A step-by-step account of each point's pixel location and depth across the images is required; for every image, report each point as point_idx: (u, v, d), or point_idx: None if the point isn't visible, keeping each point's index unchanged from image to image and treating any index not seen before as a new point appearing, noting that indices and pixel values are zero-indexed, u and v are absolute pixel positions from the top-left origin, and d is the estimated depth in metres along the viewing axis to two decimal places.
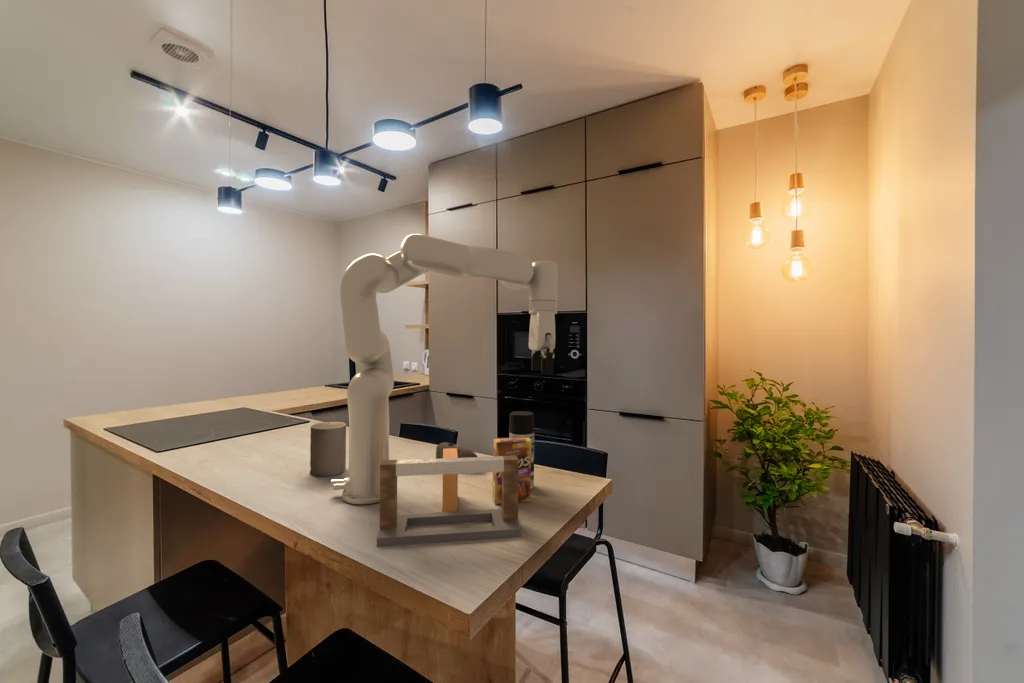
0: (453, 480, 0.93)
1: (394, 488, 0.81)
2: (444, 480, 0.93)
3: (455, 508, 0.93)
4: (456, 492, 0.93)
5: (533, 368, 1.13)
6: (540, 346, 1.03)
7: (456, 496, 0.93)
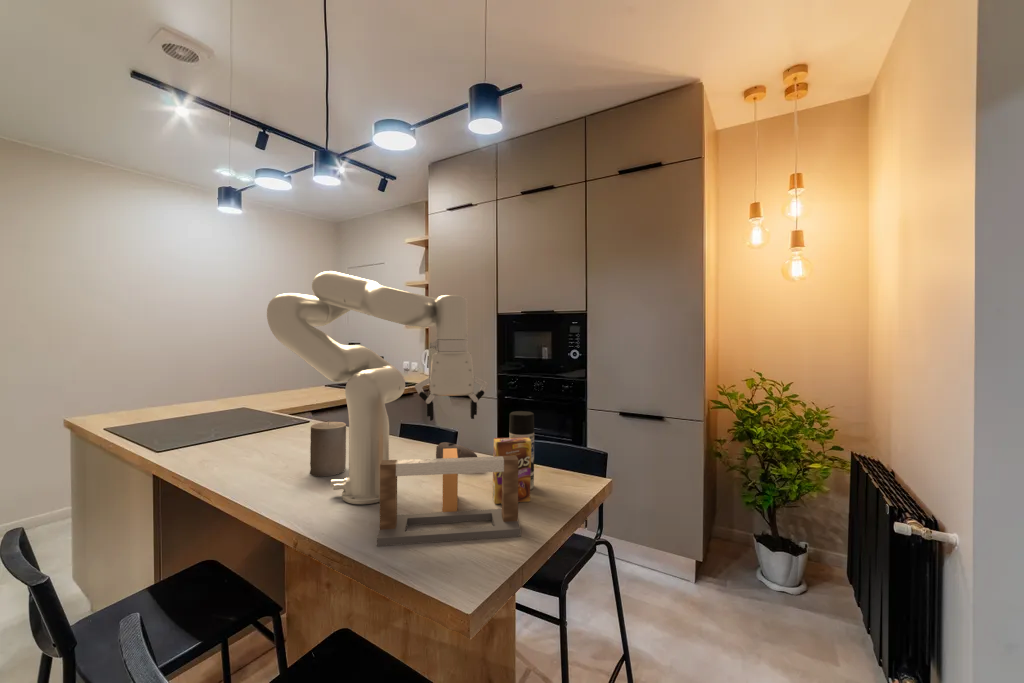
0: (453, 480, 0.93)
1: (394, 488, 0.81)
2: (444, 480, 0.93)
3: (455, 508, 0.93)
4: (456, 492, 0.93)
5: None
6: None
7: (456, 496, 0.93)
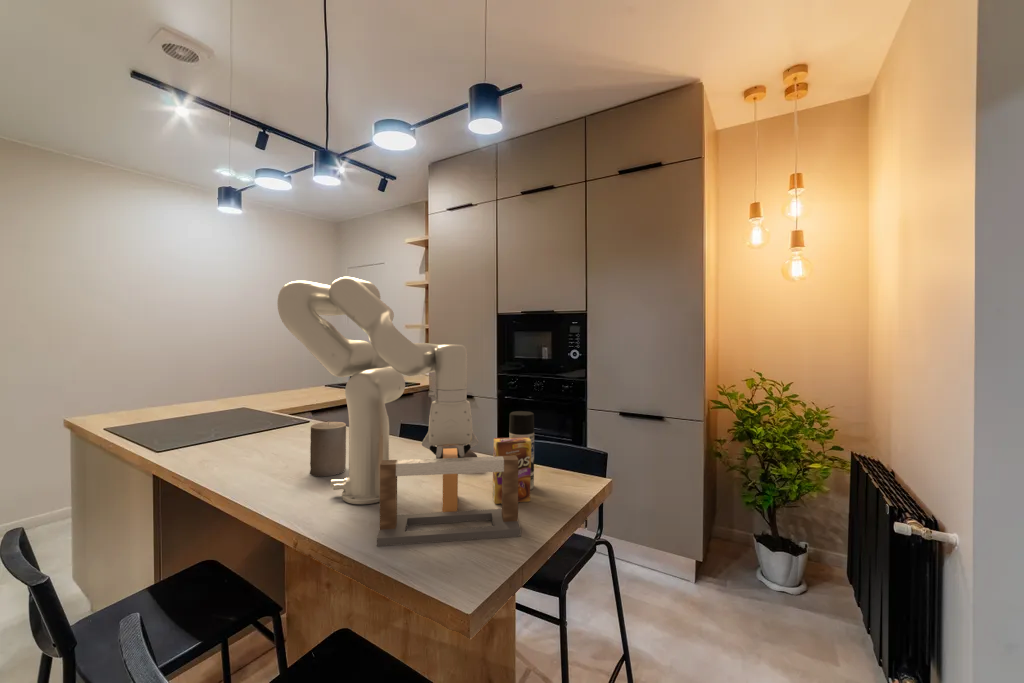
0: (453, 480, 0.93)
1: (394, 488, 0.81)
2: (444, 480, 0.93)
3: (455, 508, 0.93)
4: (456, 492, 0.93)
5: None
6: (471, 439, 0.96)
7: (456, 496, 0.93)
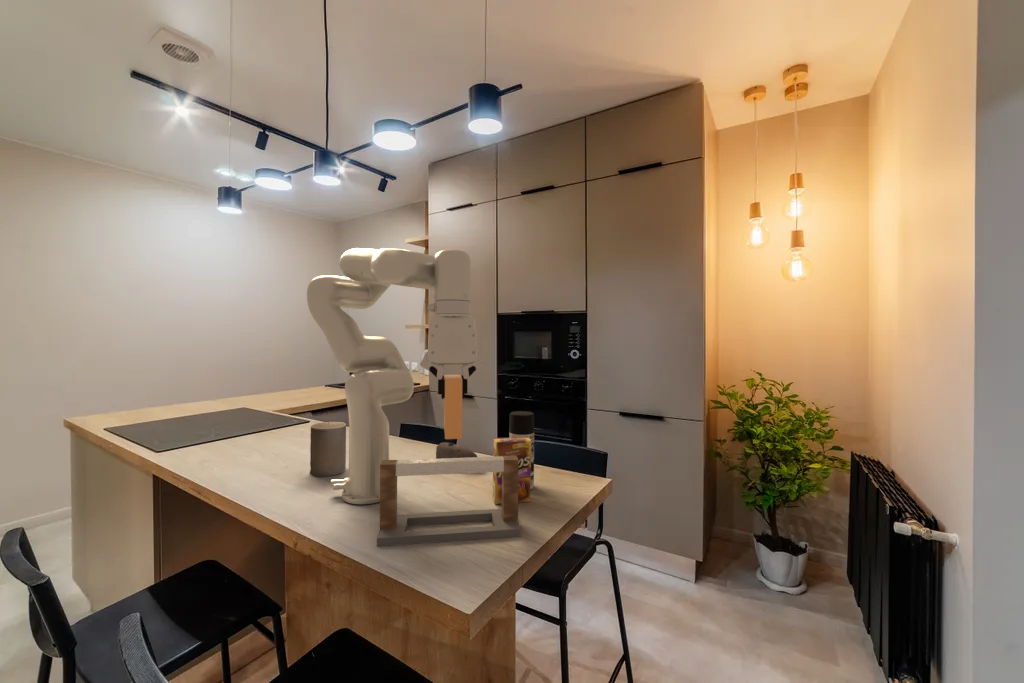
0: (457, 402, 0.81)
1: (394, 488, 0.81)
2: (447, 402, 0.81)
3: (460, 434, 0.81)
4: (461, 416, 0.81)
5: (444, 395, 0.84)
6: (477, 358, 0.84)
7: (461, 420, 0.81)
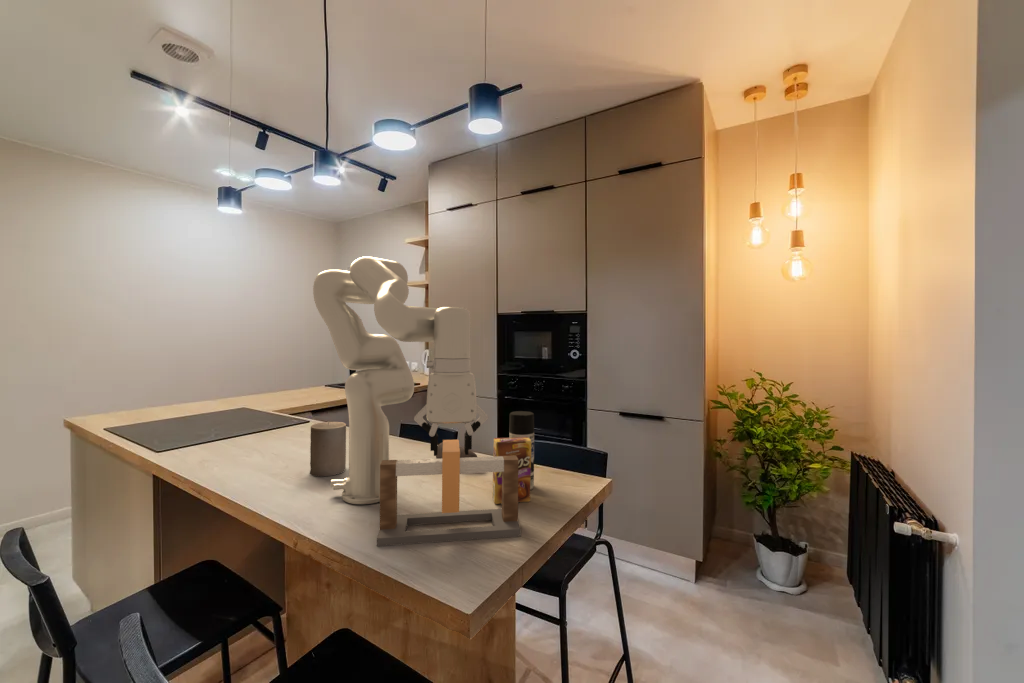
0: (455, 475, 0.80)
1: (394, 488, 0.81)
2: (444, 475, 0.80)
3: (457, 508, 0.80)
4: (458, 489, 0.80)
5: (437, 452, 0.83)
6: None
7: (458, 494, 0.80)
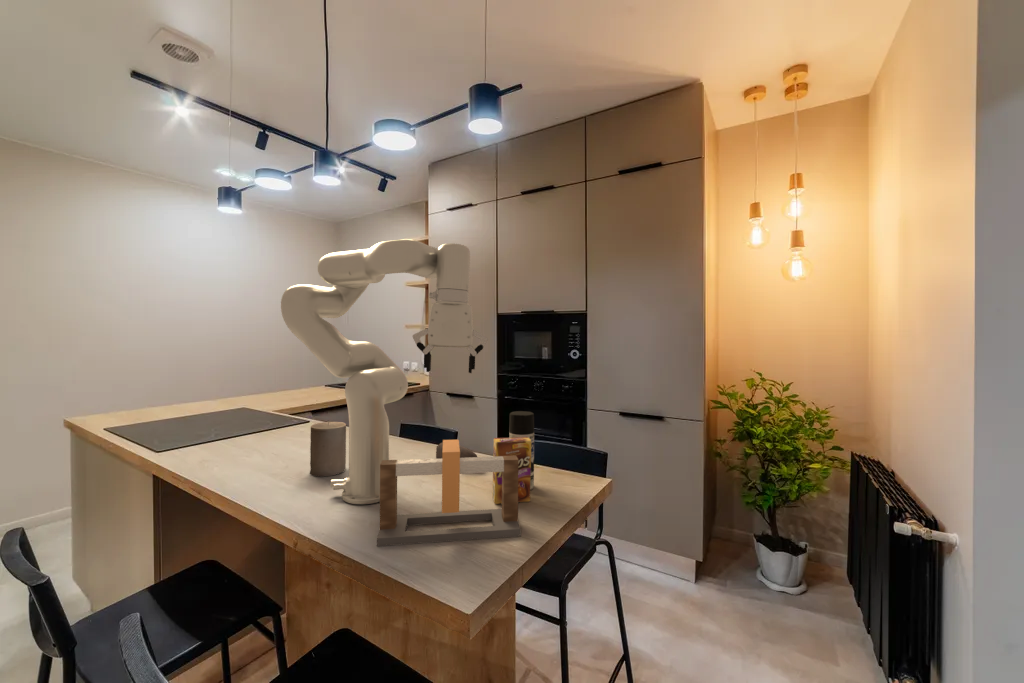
0: (455, 475, 0.80)
1: (394, 488, 0.81)
2: (444, 475, 0.80)
3: (457, 508, 0.80)
4: (458, 489, 0.80)
5: (429, 369, 0.93)
6: (471, 343, 0.93)
7: (458, 494, 0.80)
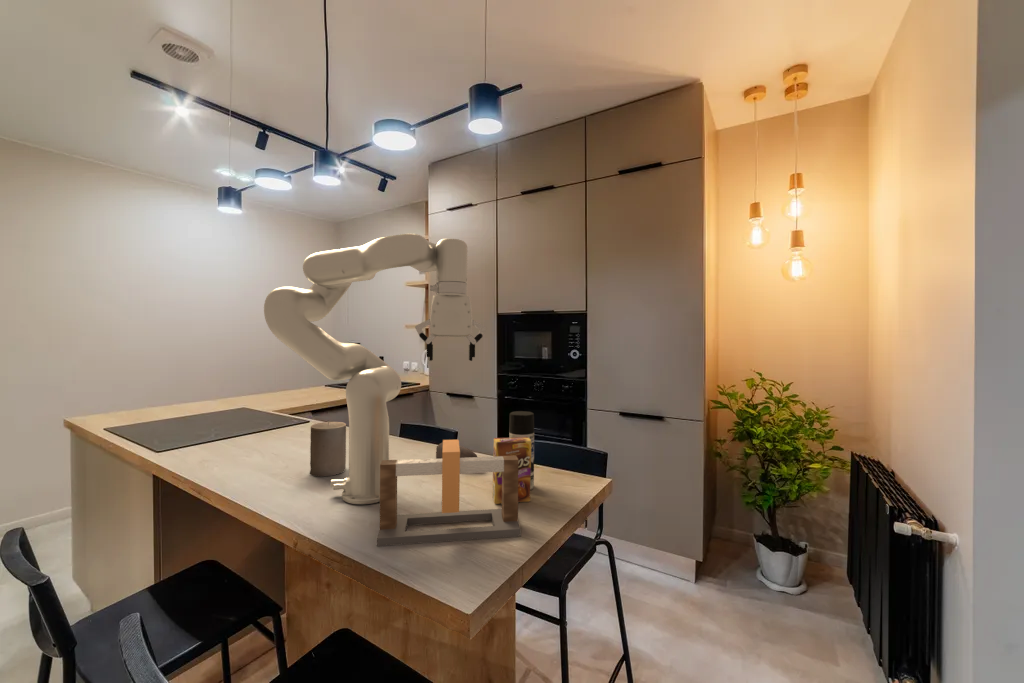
0: (455, 475, 0.80)
1: (394, 488, 0.81)
2: (444, 475, 0.80)
3: (457, 508, 0.80)
4: (458, 489, 0.80)
5: (432, 358, 0.98)
6: (471, 332, 0.99)
7: (458, 494, 0.80)
